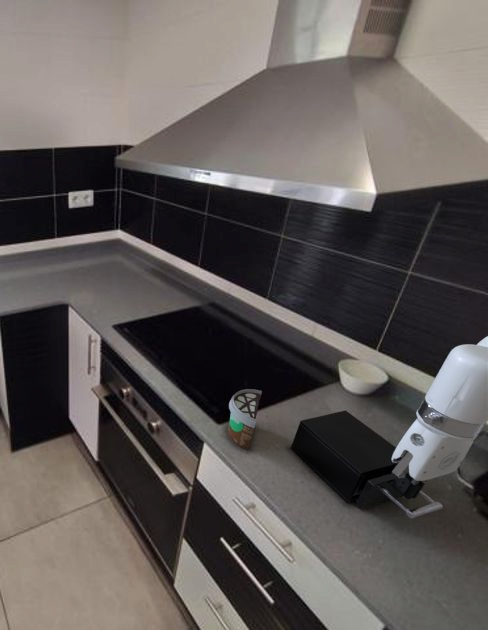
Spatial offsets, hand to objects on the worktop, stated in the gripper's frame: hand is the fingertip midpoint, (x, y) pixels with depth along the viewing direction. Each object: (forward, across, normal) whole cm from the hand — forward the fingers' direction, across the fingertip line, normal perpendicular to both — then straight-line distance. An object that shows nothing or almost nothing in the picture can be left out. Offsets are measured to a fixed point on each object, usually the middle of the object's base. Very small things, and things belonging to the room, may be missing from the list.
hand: (403, 492), depth 70 cm
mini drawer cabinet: (+6, 0, +11) cm, 13 cm away
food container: (+7, -15, +26) cm, 31 cm away
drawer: (+5, 0, +6) cm, 8 cm away
